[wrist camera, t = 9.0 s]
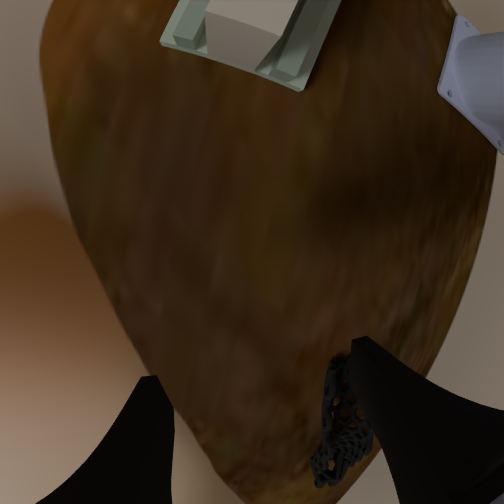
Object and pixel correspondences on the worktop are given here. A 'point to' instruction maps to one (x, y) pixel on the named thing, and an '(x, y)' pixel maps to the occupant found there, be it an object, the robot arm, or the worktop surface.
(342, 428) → the decorative element
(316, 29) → the rack
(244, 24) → the beige rectangular block
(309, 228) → the worktop surface
